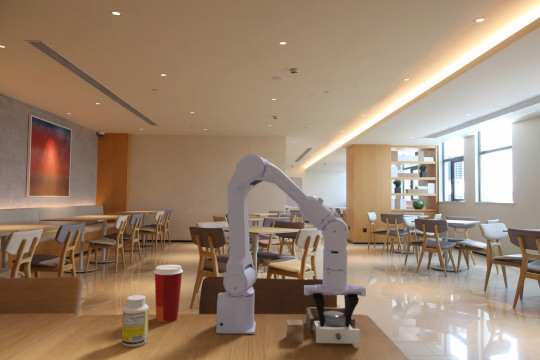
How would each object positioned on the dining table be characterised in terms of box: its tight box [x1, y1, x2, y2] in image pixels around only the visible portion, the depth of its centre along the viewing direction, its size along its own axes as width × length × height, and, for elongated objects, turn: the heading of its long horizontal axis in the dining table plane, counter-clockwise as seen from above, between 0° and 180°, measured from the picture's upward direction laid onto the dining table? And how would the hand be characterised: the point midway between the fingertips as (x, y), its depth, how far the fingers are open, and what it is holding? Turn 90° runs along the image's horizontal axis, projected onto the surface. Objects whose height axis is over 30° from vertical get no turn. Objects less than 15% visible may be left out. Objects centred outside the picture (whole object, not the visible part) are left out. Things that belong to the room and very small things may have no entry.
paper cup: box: [153, 264, 184, 324], centre depth 101 cm, size 8×8×14 cm
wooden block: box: [286, 319, 304, 343], centre depth 88 cm, size 4×4×4 cm
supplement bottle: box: [121, 294, 149, 348], centre depth 85 cm, size 6×6×10 cm
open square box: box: [305, 306, 356, 336], centre depth 96 cm, size 11×9×4 cm
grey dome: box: [324, 311, 346, 327], centre depth 90 cm, size 6×6×2 cm
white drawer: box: [314, 321, 361, 345], centre depth 89 cm, size 10×10×3 cm
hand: (334, 325), depth 90 cm, fingers closed on grey dome, 5 cm apart
